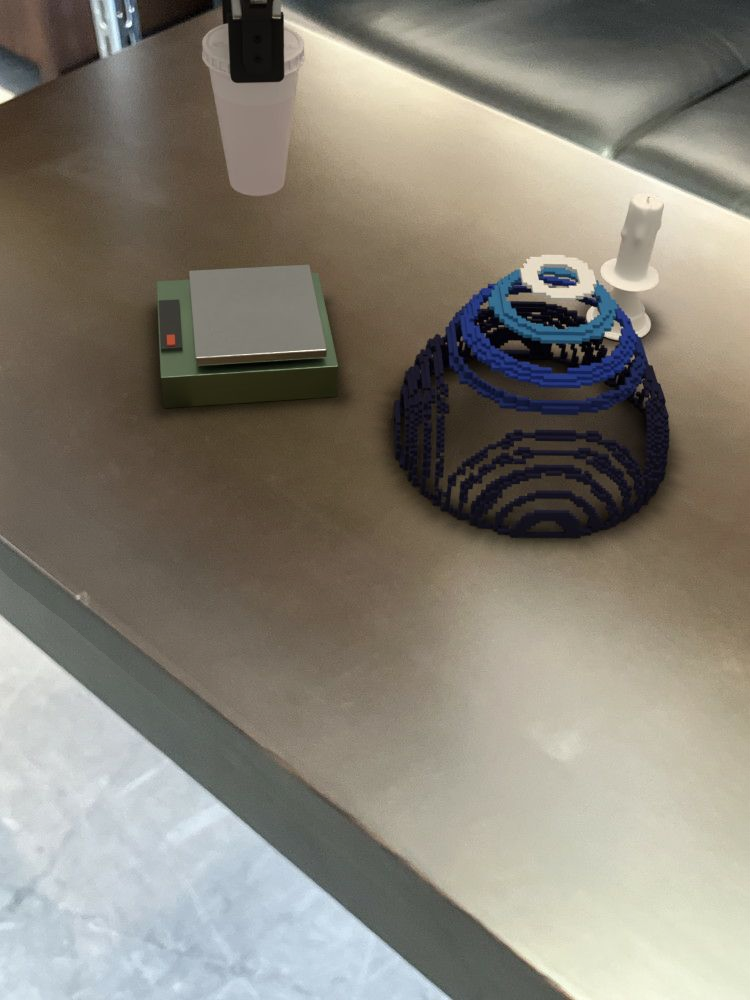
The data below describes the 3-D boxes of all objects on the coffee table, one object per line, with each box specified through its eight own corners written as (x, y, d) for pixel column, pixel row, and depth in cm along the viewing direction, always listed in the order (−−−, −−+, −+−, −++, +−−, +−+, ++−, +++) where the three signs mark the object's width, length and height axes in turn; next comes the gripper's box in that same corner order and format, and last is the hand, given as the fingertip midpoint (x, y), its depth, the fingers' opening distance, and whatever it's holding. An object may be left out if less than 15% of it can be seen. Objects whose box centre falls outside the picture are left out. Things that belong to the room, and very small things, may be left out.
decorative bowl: (636, 354, 93) (678, 196, 82) (691, 538, 79) (750, 376, 68) (388, 350, 91) (399, 189, 81) (400, 536, 78) (415, 370, 67)
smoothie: (262, 147, 81) (258, -60, 71) (324, 184, 78) (328, -27, 68) (190, 178, 78) (174, -35, 68) (251, 218, 75) (244, 1, 65)
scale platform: (196, 366, 84) (195, 357, 83) (189, 278, 91) (188, 270, 91) (326, 358, 85) (327, 349, 84) (309, 272, 93) (309, 264, 92)
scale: (164, 408, 85) (160, 372, 83) (159, 311, 94) (156, 276, 91) (337, 396, 87) (338, 361, 85) (318, 302, 95) (318, 267, 93)
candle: (649, 346, 93) (684, 217, 85) (583, 336, 94) (612, 207, 85) (651, 308, 97) (685, 181, 88) (588, 298, 98) (616, 171, 89)
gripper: (164, -328, 64) (186, -3, 77) (173, -245, 52) (198, 123, 65) (298, -325, 65) (298, -5, 78) (337, -242, 53) (329, 119, 66)
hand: (252, 51), depth 71 cm, fingers closed on smoothie, 6 cm apart
